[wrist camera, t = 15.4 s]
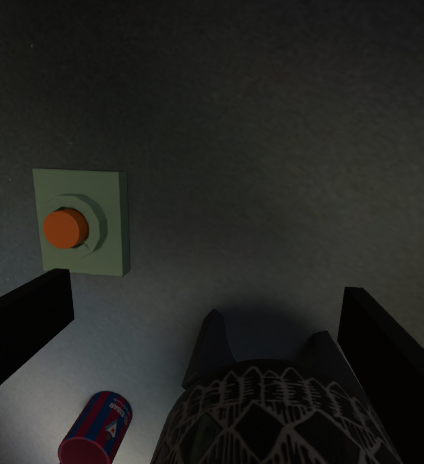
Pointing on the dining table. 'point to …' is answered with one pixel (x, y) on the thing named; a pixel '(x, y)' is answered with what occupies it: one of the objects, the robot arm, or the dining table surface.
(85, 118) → the dining table surface
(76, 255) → the block
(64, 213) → the button
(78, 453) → the cup
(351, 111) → the dining table surface
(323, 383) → the planter
